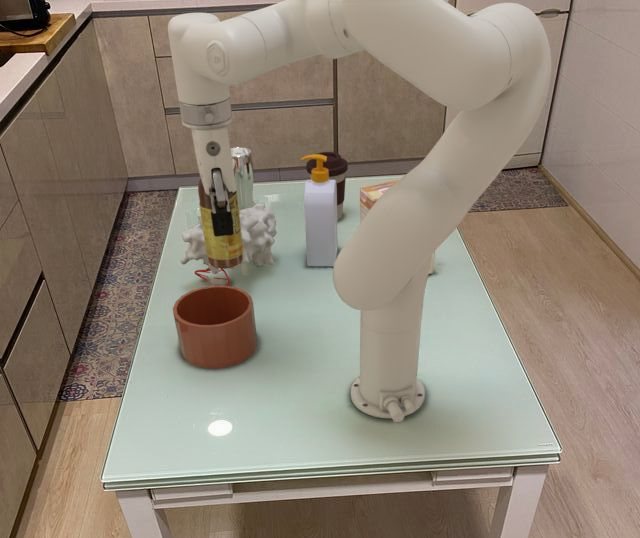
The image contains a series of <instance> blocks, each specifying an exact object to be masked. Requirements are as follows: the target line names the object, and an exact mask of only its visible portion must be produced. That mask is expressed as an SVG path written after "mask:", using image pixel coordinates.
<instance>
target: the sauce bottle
mask: <svg viewBox="0 0 640 538" xmlns="http://www.w3.org/2000/svg"><path fill="white" fill-rule="evenodd" d="M211 149H214V146H213V147H211ZM211 172H212V170H211ZM212 178H213V176H212ZM223 189H224V187H223ZM197 192H198V199H199V211H200V212H199V213H201V219H202V226H203V233H204V240H205V247H206V253H207V256H208V261H209V263H210V265H211V266H213V267H215V268H218V269H220V268H223V269H224V270H225V269H229V268H231V267H234V268H235V267H237V266H239V265H241V264H240V263H241V262H242V259H243V255H242V253H243V246H242V236H241V227H240V217H239V208H238V198H237V191H235V192H234V193H233V192H232V191H231V192H229V190H228V189H227V192H228V200H229V206H230V209H231V213H232V221H233V230H234V233H233V234H232V235H225V236H217V237H216V236H214V232H213V225H212V218H211V212H212V206H211V200H210V196H209V195H207V194H206V193H205V190H204V187H203V184H202V180H201V178H199V181H198V186H197ZM212 192H215V188H213V189H212ZM215 200H217V199H216V196H214V202H215Z"/></svg>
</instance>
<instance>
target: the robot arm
mask: <svg viewBox="0 0 640 538" xmlns="http://www.w3.org/2000/svg"><path fill="white" fill-rule="evenodd" d="M167 35H168V43H169V48H170V54H171V60H172V66H173V72H174V74H173V75H174V79H175V85H176V92H177V99H178V105H179V112H180V118H181V125H182V126H183V127H185V128H188V129H190V130H191V131H190V132H191V136H192V143H193V147H194V148H193V150H194V154H195V159H196V164H197V169H198V173H199V178H200V179H201V180H202V184H203V187H204V190H205V193H206V194H207V195H209V196H210V200H211V206H212V212H211V218H212V225H213V232H214V236H216V237H217V236H225V235H232V234H233V233H234V230H233V221H232V213H231V209H230V206H229V200H228V192H227V189H228V190H229V192H231V191H232V192H233V193H234V192H235V191H236V185H235V178H234V171H233V164H232V156H231V143H230V137H229V130H228V126H227V125H230V124H231V123H232V122H233V113H232V104H231V103H232V101H231V94H230V86H238V85H241V84H244V83H246V82H248V81H250V80H253V79H255V78H257V77H259V76H261V75H264V74H266V73H268V72H271V71H273V70H276V69H278V68H281V67H284V66H287V65H290V64H292V63H296V62H300V61H302V60H305V59H309V58H312V57H317V56H320V55H321V56H323V57H324V58H326V59H329V60H337V59H341V58H343V57H347V56H350V55H353V54H356V53H360V52H363V51H366V52H367V53H368V54H370V55H371V56H372V57H373V58H375V59H376V60H377V61H379V62H380V63H381V64H383V65H384V66H385V67H386V68H387V69H389V70H391V71H393V72H394V73H395V74H397V75H398V76H400V77H401V78H402V79H404V80H405V81H406V82H408V83H409V84H411V85H413V86H414V87H415V88H417V89H418V90H420V92H422V93H423V94H425V95H426V96H428V97H430V98H431V99H433V100H434V101H435V102H437V103H439V104H440V105H442V106H444V107H447V108H449V109H452V110H456V111H459V112H458V113H457V115H456V116H455V117H454V118H453V119H452V120H451V122H450V123H449V124H448V126H447V127H446V129H445V131H444V132H443V134H442V135H441V137H440V138H439V139H438V140H437V142H436V143H435V144H434V146H433V147H432V148H431V150H430V151H429V152H428V154H426V156H425V157H424V158H423V159H422V161H420V163H419V164H417V165H416V166H415V167H414V168H412V169H411V170H410V171H408V172H407V173H406V174H405V175H403V176H402V177H400V178H399V179H400V180H399V179H397V180H398V181H397V182H396V183H395V184H393V185H392V186H391V187H390V188H389V189H388V190H387V191H385V192H384V193H383V194H382V196H381V197H380V198H379V199H378V200H377V201H376V203H375V204H374V205H373V206H372V208H371V209H370V210H369V212H368V213H367V215H366V216H365V218H364V219H363V220H362V222H361V223H360V222H359V224H358V226H357V227H356V229H355V230H354V232H353V233H352V234H351V236H350V237H349V239H348V240H347V242H346V243H345V245H344V246H343V247H342V249H341V250H340V252H339V253H338V254H337V256H336V261H335V264H334V266H333V269H332V281H333V282H332V283H333V286H334V290H335V291H336V293H337V296H338V297H339V298H340V300H341V301H342V302H343V303H344V304H346V305H347V306H348V307H350V308H352V309H354V310H357V311H360V319H359V321H360V322H359V323H360V325H359V326H360V327H359V376H358V377H357V378H355V380H354V381H353V382H352V384H351V386H350V399H351V401H352V403H353V405H354V406H355V408H357V410H360V411H361V412H362V413H364V414H366V415H369V416H372V417H375V418H380V419H392V421H393V422H394V423H396V424H397V423H401V422H403V420H404V419H405V417H406V416H410V415H411V414H414V413H415V412H417V411H418V410H419V409H420V408H421V407H422V405H423V404H424V401H425V398H426V397H425V396H426V390H425V386H424V384H423V383H422V382H421V380H420V379H419V378H418V371H419V370H418V369H419V368H418V367H419V356H420V346H421V331H422V322H423V321H422V320H423V310H424V299H425V294H426V293H425V292H426V287H427V282H428V277H429V274H428V273H429V269H430V264H431V258H432V254H433V252H434V251H435V252H436V251H437V250H438V248H439V247H440V246H441V245H442V244H443V243H444V242H445V241H446V240H447V239H448V238H449V237H450V236H451V235H452V234H453V232H455V231H456V230H457V228H458V227H459V226H460V224H461V223H462V222H463V221H464V219H465V217H466V216H467V215H468V213H469V211H470V210H471V208H472V207H473V206H474V205H475V203H476V202H477V201H478V199H479V198H480V197H481V196H482V195H483V193H484V192H485V191H486V190H487V189H488V188H489V186H490V185H491V184H492V183H493V182H494V181H495V180H496V178H497V177H498V176H499V174H500V173H501V172H502V170H504V168H506V165H507V164H509V162H510V161H511V160H512V158H513V157H514V156H515V154H517V152H518V151H519V150H520V148H521V147H522V146H523V144H524V143H525V141H526V140H527V138H528V137H529V135H530V134H531V132H532V131H533V128H534V127H535V126H536V123H537V121H538V120H539V118H540V115H541V113H542V110H543V109H544V106H545V103H546V100H547V97H548V93H549V90H550V85H551V80H552V79H551V78H552V52H551V47H550V41H549V38H548V35H547V32H546V30H545V28H544V26H543V23H542V22H541V20H540V18H539V17H538V16H537V15H536V13H534V11H532V9H530V8H528V7H527V6H524V5H523V4H520V3H516V2H501V3H496V4H492V5H489V6H487V7H485V8H483V9H481V10H478V11H477V12H475V13H473V14H471V15H469V16H468V15H466V14H465V13H463V12H462V11H461V10H459V9H458V8H456V7H455V6H453V5H452V4H450V3H449V0H283V1H280V2H277V3H274V4H271V5H268V6H266V7H263V8H259V9H256V10H253V11H249V12H246V13H243V14H240V15H236V16H233V17H232V18H228V19H225V20H220V19H219V17H218V16H216V15H215V14H213V13H208V12H187V13H181V14H177V15H175V16H173V17H171V19H170V20H169V21H168V24H167ZM213 146H214V149H211V147H213ZM211 170H212V172H211ZM212 176H213V178H212ZM223 187H224V189H223ZM213 188H215V192H212V189H213ZM214 196H216V199H217V200H215V202H214Z"/></svg>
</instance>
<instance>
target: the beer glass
mask: <svg viewBox="0 0 640 538" xmlns="http://www.w3.org/2000/svg"><path fill="white" fill-rule="evenodd" d="M230 149H231V156H232V164H233V171H234V178H235V185H236V191H237V198H238V208H239V213H240V211H241V210H242V209H247V208H252V207H253V206H254V205H255V204H256V203H255V201H254V177H255V175H254V174H255V172H254V171H255V170H254V162H253V157H252V150H251V149H250V148H247V147H242V146H241V147H239V146H237V147H230Z"/></svg>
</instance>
